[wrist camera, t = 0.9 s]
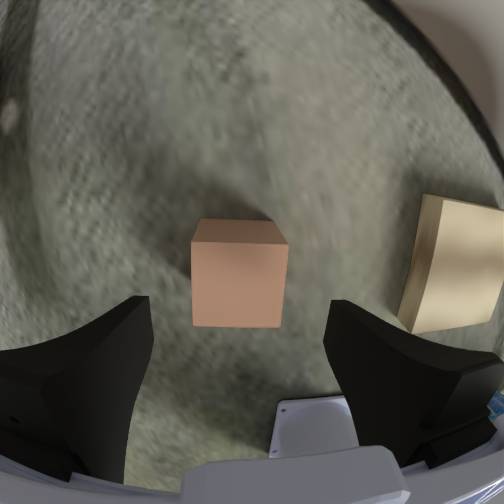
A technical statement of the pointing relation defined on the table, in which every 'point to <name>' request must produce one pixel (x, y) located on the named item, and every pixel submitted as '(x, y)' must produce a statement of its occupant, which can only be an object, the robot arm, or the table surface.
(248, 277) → the block
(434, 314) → the base
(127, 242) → the table surface
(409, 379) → the robot arm
